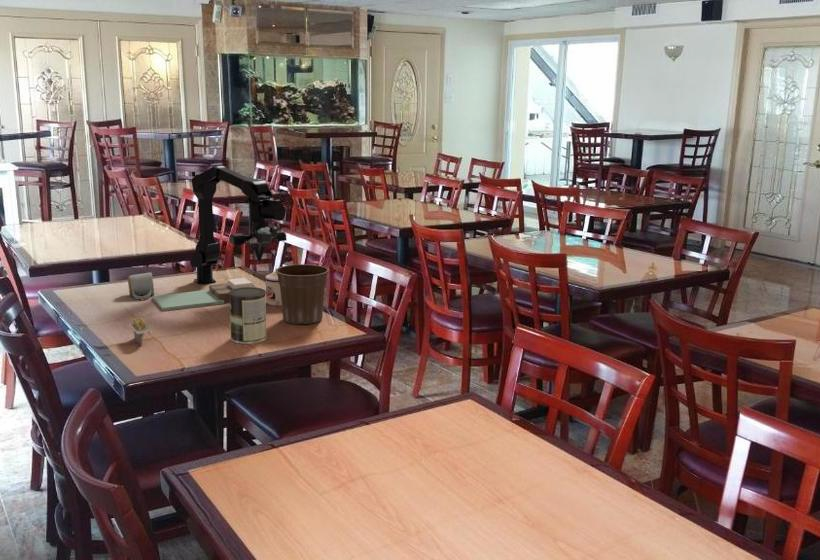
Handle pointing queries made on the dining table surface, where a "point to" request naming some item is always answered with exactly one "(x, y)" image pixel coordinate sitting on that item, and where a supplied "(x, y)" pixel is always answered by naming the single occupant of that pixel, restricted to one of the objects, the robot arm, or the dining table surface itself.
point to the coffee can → (248, 315)
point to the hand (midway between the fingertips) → (258, 261)
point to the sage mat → (186, 300)
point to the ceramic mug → (141, 285)
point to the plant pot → (302, 292)
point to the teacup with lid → (273, 290)
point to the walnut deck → (222, 291)
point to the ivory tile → (239, 283)
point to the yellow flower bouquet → (137, 331)
